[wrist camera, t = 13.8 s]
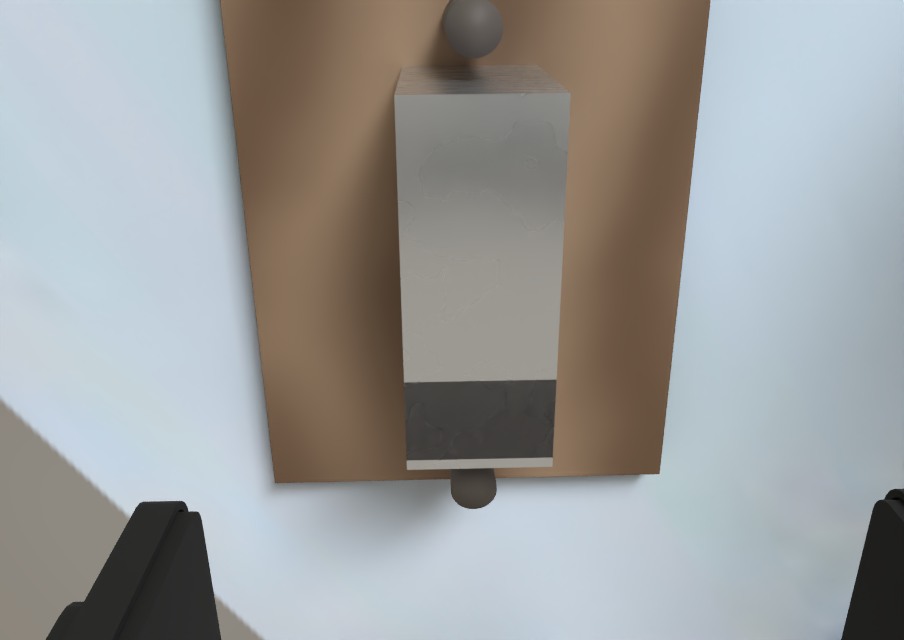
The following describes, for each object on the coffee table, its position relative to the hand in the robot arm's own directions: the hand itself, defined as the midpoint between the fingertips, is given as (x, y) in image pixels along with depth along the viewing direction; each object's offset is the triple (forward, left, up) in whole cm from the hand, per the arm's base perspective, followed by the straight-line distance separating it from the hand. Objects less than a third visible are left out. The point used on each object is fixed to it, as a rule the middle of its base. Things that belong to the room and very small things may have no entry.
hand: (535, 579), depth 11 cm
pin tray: (0, 0, -17) cm, 17 cm away
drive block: (0, 0, -16) cm, 16 cm away
